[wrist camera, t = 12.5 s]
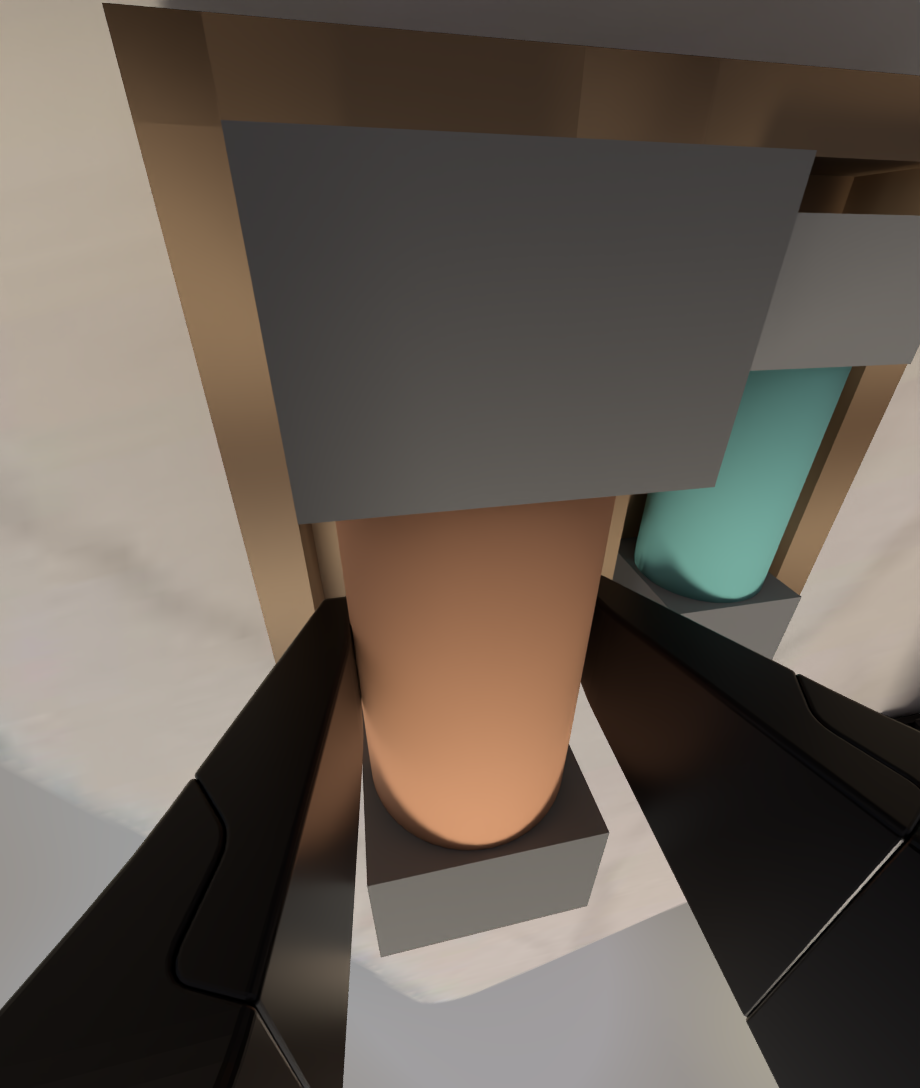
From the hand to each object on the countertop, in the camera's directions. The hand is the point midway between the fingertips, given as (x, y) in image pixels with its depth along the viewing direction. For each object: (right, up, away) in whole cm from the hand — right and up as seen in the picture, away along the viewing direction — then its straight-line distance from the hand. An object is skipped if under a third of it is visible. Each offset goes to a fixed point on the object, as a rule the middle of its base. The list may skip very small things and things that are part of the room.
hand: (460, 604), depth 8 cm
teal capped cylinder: (+7, +4, +6) cm, 10 cm away
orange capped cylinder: (0, +1, +1) cm, 1 cm away
